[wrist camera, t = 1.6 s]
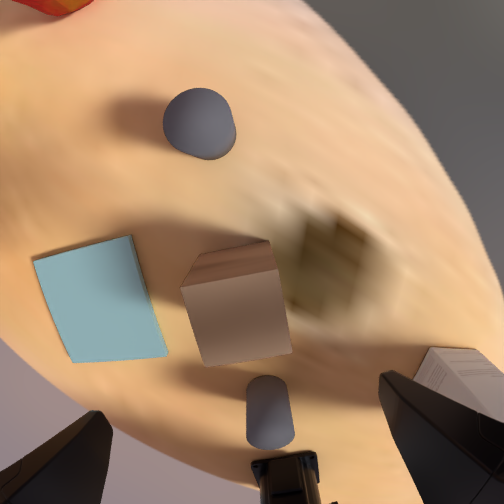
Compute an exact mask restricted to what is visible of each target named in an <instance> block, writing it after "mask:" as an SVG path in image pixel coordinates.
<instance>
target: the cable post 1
mask: <svg viewBox="0 0 504 504" xmlns="http://www.w3.org/2000/svg"><path fill="white" fill-rule="evenodd" d="M163 129H164V133H165V136H166V138H167V139H168V141H169V142H170V144H171V145H172V146H174V147H175V148H176V149H178V150H180V151H182V152H184V153H187V154H190V155H192V156H195V157H198V158H200V159H204V160H215V159H218V158H221V157H223V156H224V155H226V154H227V153H228V152H229V151H230V150H231V149H232V147H233V145H234V143H235V140H236V128H235V124H234V121H233V117H232V113H231V109H230V107H229V105H228V103H227V101H226V100H225V99H224V98H223V97H222V96H221V95H220V94H218V93H217V92H215V91H213V90H210V89H206V88H194V89H189V90H186V91H184V92H182V93H180V94H179V95H177V96H176V97H175V98H174V99H173V100H172V101H171V102H170V104H169V105H168V107H167V108H166V111H165V113H164V117H163Z"/></svg>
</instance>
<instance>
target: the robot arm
mask: <svg viewBox="0 0 504 504" xmlns="http://www.w3.org/2000/svg"><path fill="white" fill-rule="evenodd" d="M378 394H379V399H380V402H381V405H382V408H383V411H384V414H385V417H386V419H387V422H388V425H389V428H390V431H391V434H392V437H393V439H394V441H395V444H396V446H397V448H398V450H399V452H400V454H401V456H402V458H403V460H404V462H405V464H406V466H407V468H408V470H409V472H410V475H411V477H412V479H413V481H414V483H415V485H416V487H417V490H418V492H419V494H420V496H421V498H422V500H423V503H424V504H504V423H503V422H501V421H498V420H496V419H493V418H491V417H489V416H486V415H484V414H482V413H480V412H479V413H478V412H477V411H475V410H473V409H471V408H469V407H467V406H465V405H463V404H461V403H458V402H456V401H454V400H452V399H450V398H448V397H446V396H444V395H442V394H440V393H438V392H436V391H434V390H432V389H430V388H428V387H426V386H424V385H422V384H420V383H418V382H416V381H414V380H412V379H410V378H408V377H406V376H404V375H402V374H400V373H398V372H396V371H394V370H390V371H387V372H384V373H381V374H380V377H379V392H378ZM112 437H113V429H112V426H111V425H110V423H109V422H108V420H107V419H106V417H105V415H104V414H103V413H102V412H101V411H95V410H92V411H89V412H88V413H86V414H85V415H83V416H82V417H81V418H79V419H78V420H76V421H75V422H74V423H72V424H71V425H69V426H68V427H67V428H65V429H64V430H62V431H61V432H59V433H58V434H56V435H55V436H54V437H52V438H51V439H49V440H48V441H46V442H45V443H43V444H42V445H41V446H39V447H38V448H36V449H35V450H33V451H32V452H30V453H29V454H27V455H26V456H24V457H23V459H20V460H18V461H17V462H16V463H14V464H12V465H11V466H9V467H8V468H6V469H4V470H2V471H1V472H0V504H100V503H101V498H102V493H103V489H104V485H105V479H106V476H107V471H108V466H109V459H110V451H111V444H112ZM251 469H252V471H253V474H254V476H255V478H256V481H257V483H258V485H259V488H260V499H261V500H260V501H261V504H321V499H320V494H319V490H318V485H317V484H318V483H319V482H320V481H319V470H318V461H317V454H316V452H309V453H303V454H298V455H293V456H287V457H281V458H274V459H267V460H260V461H253V462H251ZM331 504H338V502H337V501H336V502H332V503H331Z"/></svg>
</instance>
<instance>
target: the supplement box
mask: <svg viewBox="0 0 504 504" xmlns="http://www.w3.org/2000/svg"><path fill="white" fill-rule="evenodd" d="M413 380H414V381H416V382H418V383H420V384H422V385H424V386H426V387H428V388H430V389H432V390H434V391H436V392H438V393H440V394H442V395H444V396H446V397H448V398H450V399H452V400H454V401H456V402H458V403H461V404H463V405H465V406H467V407H469V408H471V409H473V410H475V411H477V412H478V413H479V412H480V413H482V414H484V415H486V416H489V417H491V418H493V419H496V420H498V421H501V422H503V423H504V374H503V373H502V372H501V371H500V370H499V369H498V368H497V367H496V366H495V365H493V364H492V363H491V362H490V361H489V360H488V359H487V358H486V357H485V356H484V355H483V354H482V353H480V352H479V351H478V350H474V349H454V348H438V347H430V348H429V350H428V352H427V354H426V356H425V358H424V360H423V362H422V364H421V366H420V368H419V370H418V371H417V373H416V375H415V377H414V379H413Z"/></svg>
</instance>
